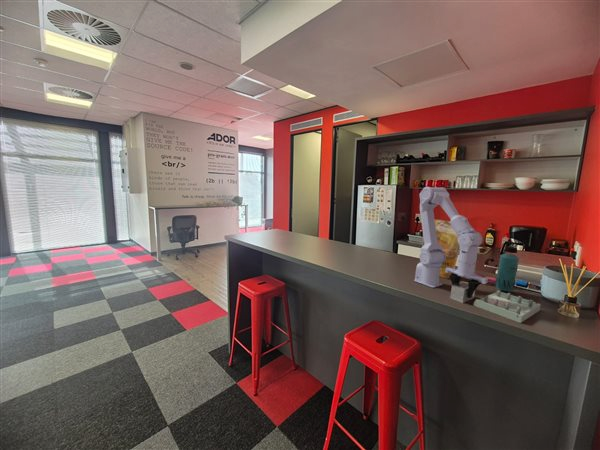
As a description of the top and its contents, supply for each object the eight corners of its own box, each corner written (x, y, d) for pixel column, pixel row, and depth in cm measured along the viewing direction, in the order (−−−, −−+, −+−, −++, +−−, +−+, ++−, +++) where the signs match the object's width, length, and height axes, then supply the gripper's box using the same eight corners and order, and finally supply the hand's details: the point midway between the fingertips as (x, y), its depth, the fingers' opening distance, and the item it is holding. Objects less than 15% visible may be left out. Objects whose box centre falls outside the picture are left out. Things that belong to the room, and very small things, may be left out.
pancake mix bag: (421, 268, 138) (426, 217, 133) (459, 278, 123) (467, 222, 119) (415, 270, 134) (420, 218, 129) (453, 281, 119) (461, 223, 114)
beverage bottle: (490, 289, 110) (497, 245, 107) (500, 287, 112) (507, 244, 109) (507, 295, 104) (515, 249, 101) (517, 293, 106) (525, 248, 103)
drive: (450, 298, 100) (451, 285, 99) (461, 293, 105) (463, 281, 104) (462, 302, 96) (464, 289, 95) (474, 298, 101) (475, 284, 100)
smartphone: (497, 283, 117) (462, 273, 128) (497, 285, 117) (462, 275, 129) (502, 280, 121) (468, 271, 133) (502, 282, 121) (467, 272, 133)
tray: (473, 305, 94) (475, 295, 93) (494, 295, 103) (496, 286, 103) (520, 323, 82) (522, 311, 82) (539, 310, 92) (541, 300, 91)
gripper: (442, 258, 102) (439, 290, 104) (483, 269, 90) (478, 304, 92) (452, 256, 106) (448, 287, 108) (492, 266, 93) (486, 300, 95)
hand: (462, 294), depth 100 cm, fingers closed on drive, 5 cm apart
